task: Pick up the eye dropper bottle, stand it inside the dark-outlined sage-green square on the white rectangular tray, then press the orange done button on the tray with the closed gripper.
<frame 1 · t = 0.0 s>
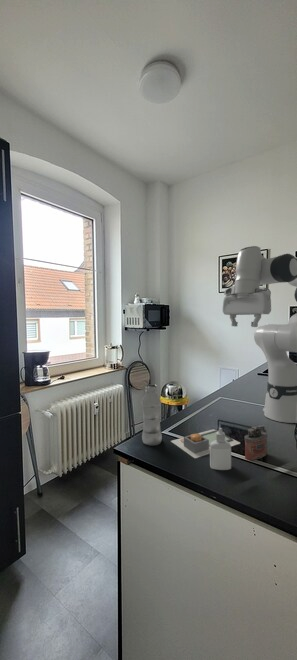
hand: (243, 326, 102), 39 cm above the counter, tool pointing down, fingers open, 8 cm apart
white rectangular tray: (205, 445, 90), on the counter
plastic bottle: (151, 445, 91), on the counter
done button: (196, 439, 86), point 4 cm above the counter, slide at 0.0 cm
eye dropper bottle: (220, 471, 76), on the counter
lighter: (255, 460, 81), on the counter
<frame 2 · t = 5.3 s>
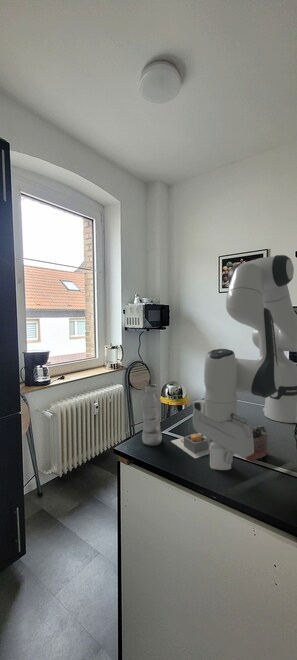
hand: (220, 457, 75), 4 cm above the counter, tool pointing down, fingers closed on eye dropper bottle, 4 cm apart
eye dropper bottle: (220, 471, 76), on the counter, touching gripper
everything else where it was.
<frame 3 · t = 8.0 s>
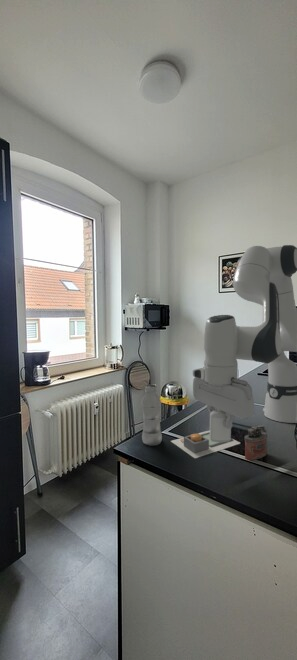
hand: (220, 424, 75), 13 cm above the counter, tool pointing down, fingers closed on eye dropper bottle, 4 cm apart
eye dropper bottle: (219, 440, 76), point 8 cm above the counter, touching gripper
everything else where it was.
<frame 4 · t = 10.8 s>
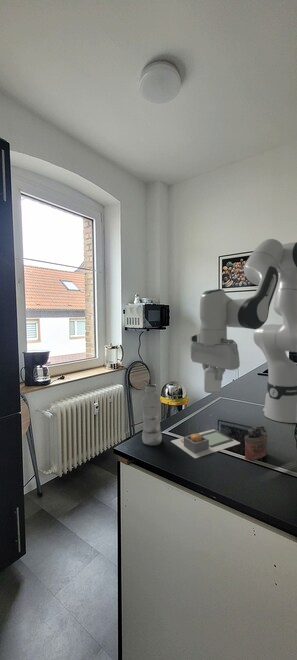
hand: (213, 378, 92), 22 cm above the counter, tool pointing down, fingers closed on eye dropper bottle, 4 cm apart
eye dropper bottle: (212, 392, 92), point 17 cm above the counter, touching gripper
everything else where it was.
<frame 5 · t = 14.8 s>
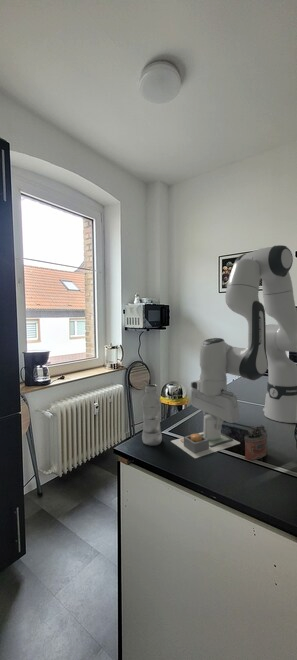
hand: (213, 426, 92), 5 cm above the counter, tool pointing down, fingers closed on eye dropper bottle, 3 cm apart
eye dropper bottle: (212, 438, 93), point 1 cm above the counter, touching gripper, white rectangular tray
everything else where it was.
when the fingers open (5 cm above the counter, at t = 14.9 s): eye dropper bottle stays where it is, resting on white rectangular tray.
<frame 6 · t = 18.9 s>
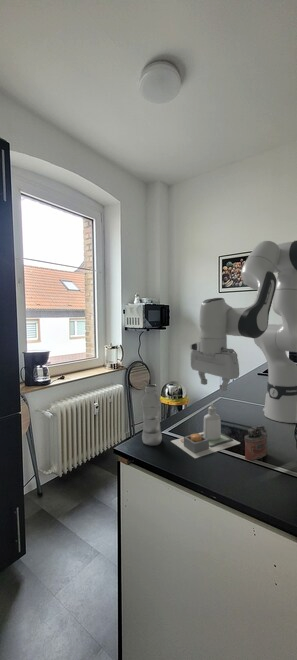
hand: (213, 387, 92), 19 cm above the counter, tool pointing down, fingers open, 8 cm apart
eye dropper bottle: (212, 438, 93), point 1 cm above the counter, touching white rectangular tray
everything else where it was.
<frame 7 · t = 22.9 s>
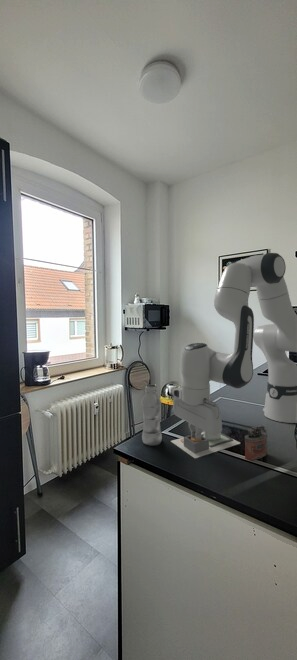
hand: (195, 438, 86), 4 cm above the counter, tool pointing down, fingers closed, pressing on done button
done button: (196, 441, 86), point 3 cm above the counter, slide at 0.7 cm, touching gripper
everything else where it was.
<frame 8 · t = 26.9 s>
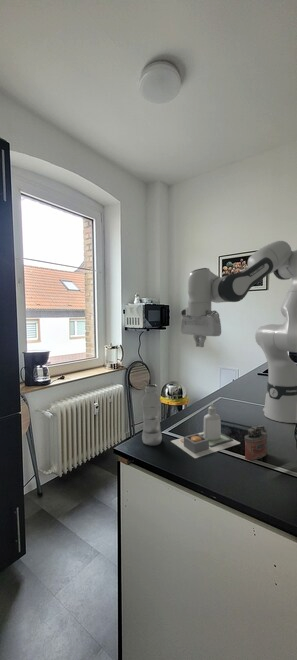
hand: (199, 347, 105), 31 cm above the counter, tool pointing down, fingers closed
done button: (196, 441, 86), point 3 cm above the counter, slide at 0.8 cm
everything else where it was.
at the end: eye dropper bottle 0.4 cm from the target spot on the white rectangular tray, point 1.1 cm above the white rectangular tray's base; eye dropper bottle tilted 0°; done button slide at 0.8 cm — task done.
